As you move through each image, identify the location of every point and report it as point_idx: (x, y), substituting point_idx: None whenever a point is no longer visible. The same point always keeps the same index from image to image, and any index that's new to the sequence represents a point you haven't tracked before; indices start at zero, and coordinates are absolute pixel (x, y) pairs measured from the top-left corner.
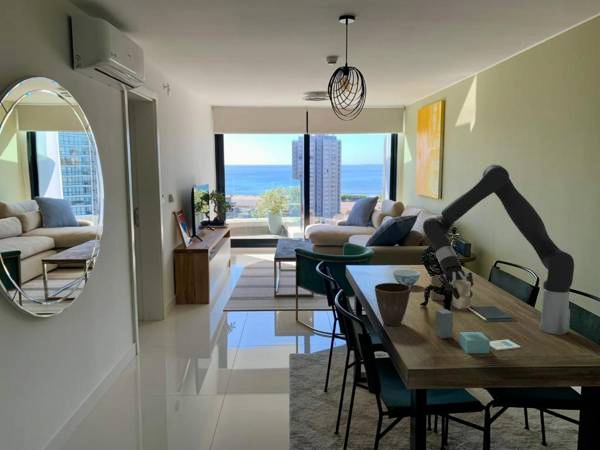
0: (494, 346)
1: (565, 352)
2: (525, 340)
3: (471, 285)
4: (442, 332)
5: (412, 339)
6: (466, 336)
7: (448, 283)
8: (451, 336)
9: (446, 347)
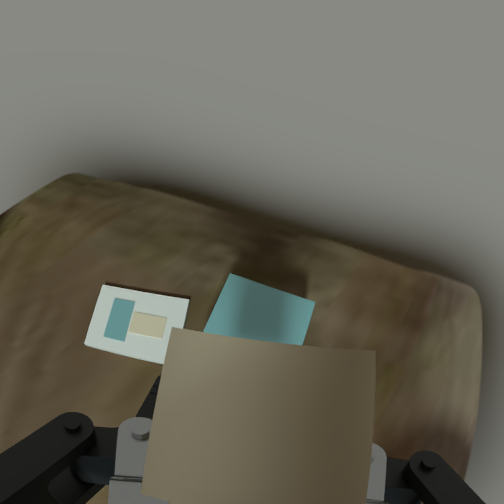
0: (177, 319)
1: (47, 224)
2: (42, 319)
3: (90, 426)
4: None
5: None
6: (292, 336)
7: (441, 484)
8: None
9: None
